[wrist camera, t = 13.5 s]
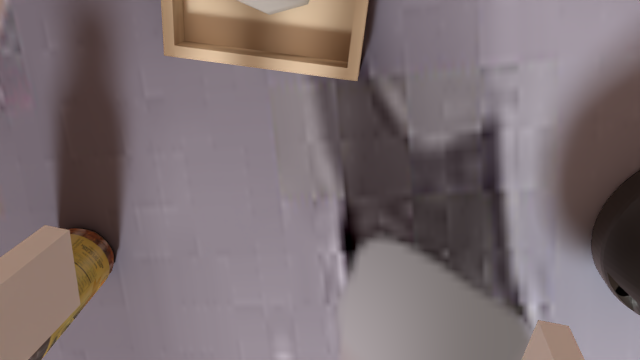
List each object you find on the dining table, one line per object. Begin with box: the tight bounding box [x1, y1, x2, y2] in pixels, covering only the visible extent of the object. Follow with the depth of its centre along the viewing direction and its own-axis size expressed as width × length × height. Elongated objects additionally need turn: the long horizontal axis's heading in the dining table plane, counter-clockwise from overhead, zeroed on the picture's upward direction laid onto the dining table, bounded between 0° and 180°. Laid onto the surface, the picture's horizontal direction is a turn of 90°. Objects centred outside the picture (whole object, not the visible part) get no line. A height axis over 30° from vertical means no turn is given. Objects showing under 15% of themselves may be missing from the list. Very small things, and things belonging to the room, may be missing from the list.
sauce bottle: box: [28, 228, 114, 360], centre depth 37 cm, size 7×6×20 cm
